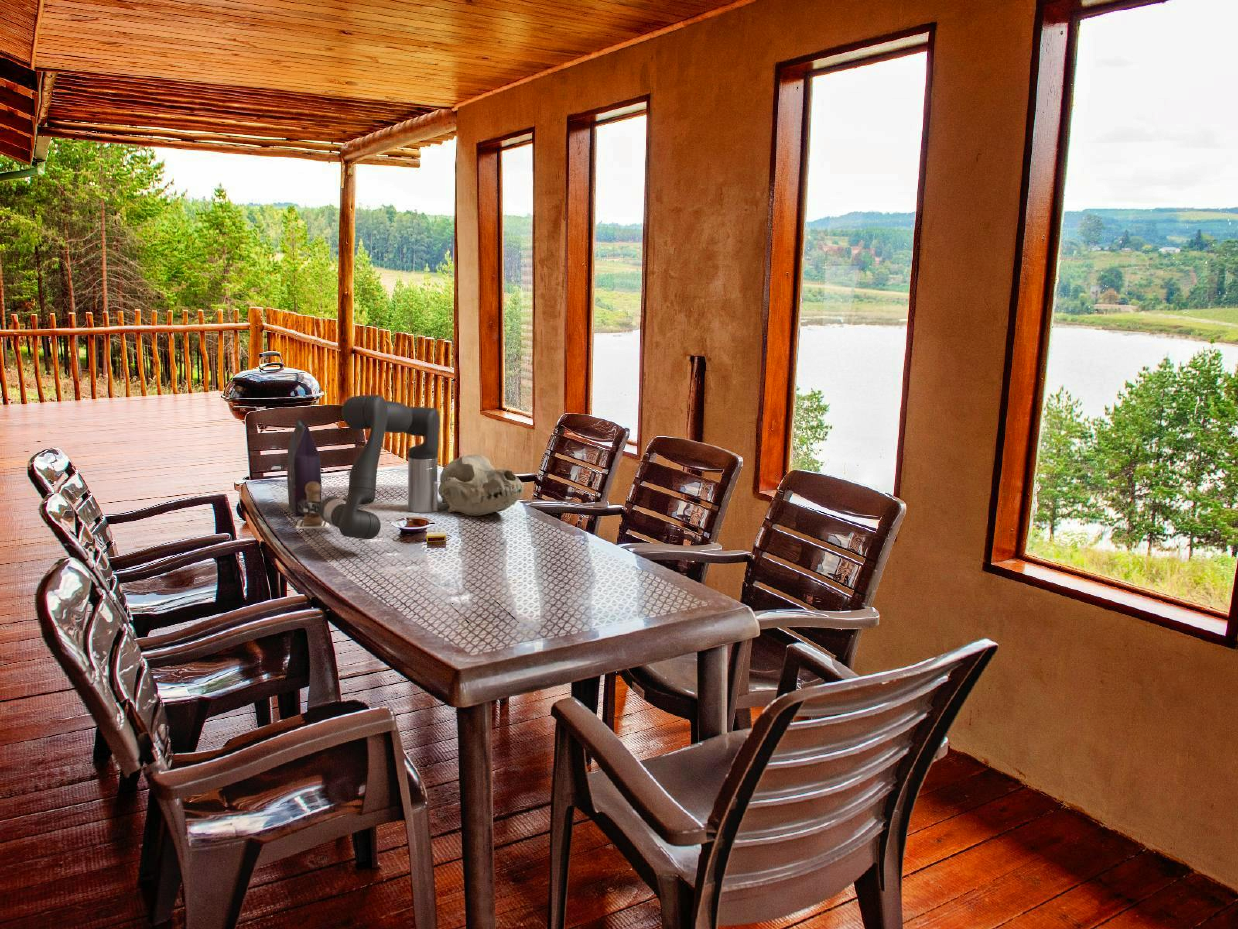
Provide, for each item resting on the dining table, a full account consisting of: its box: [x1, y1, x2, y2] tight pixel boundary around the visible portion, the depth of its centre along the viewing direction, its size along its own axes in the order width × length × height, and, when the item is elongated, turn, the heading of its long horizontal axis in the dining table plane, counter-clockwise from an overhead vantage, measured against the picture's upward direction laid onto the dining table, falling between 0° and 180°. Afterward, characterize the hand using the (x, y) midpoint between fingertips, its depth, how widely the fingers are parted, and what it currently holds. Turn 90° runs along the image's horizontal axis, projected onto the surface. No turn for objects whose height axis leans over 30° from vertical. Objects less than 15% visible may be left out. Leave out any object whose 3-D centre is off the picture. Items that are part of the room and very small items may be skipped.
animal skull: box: [438, 453, 525, 517], centre depth 301 cm, size 22×35×22 cm, turn 52°
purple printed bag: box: [286, 419, 323, 518], centre depth 292 cm, size 8×16×28 cm, turn 27°
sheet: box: [295, 520, 330, 530], centre depth 278 cm, size 9×8×1 cm
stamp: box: [303, 481, 323, 526], centre depth 276 cm, size 5×5×13 cm
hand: (317, 501), depth 273 cm, fingers open, 8 cm apart
